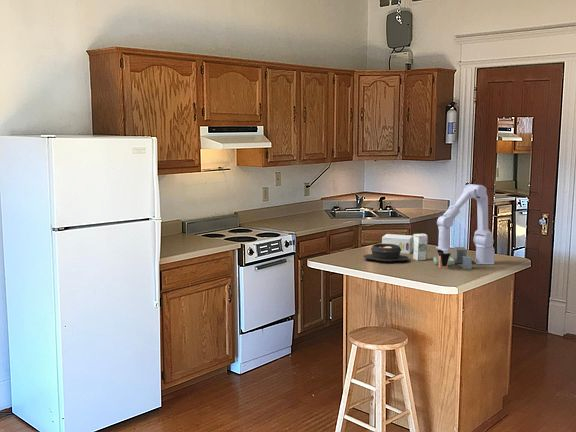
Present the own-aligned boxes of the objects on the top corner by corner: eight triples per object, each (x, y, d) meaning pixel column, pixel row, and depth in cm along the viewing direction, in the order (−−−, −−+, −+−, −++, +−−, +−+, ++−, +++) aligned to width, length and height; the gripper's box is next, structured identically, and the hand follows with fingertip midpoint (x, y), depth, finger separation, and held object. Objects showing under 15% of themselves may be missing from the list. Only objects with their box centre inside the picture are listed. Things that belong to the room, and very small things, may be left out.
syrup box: (421, 258, 354) (422, 233, 352) (426, 260, 348) (427, 234, 346) (412, 259, 352) (413, 233, 350) (417, 261, 347) (418, 235, 345)
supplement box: (381, 252, 373) (381, 236, 372) (386, 248, 386) (386, 233, 384) (409, 254, 367) (410, 238, 366) (413, 250, 380) (414, 235, 378)
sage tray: (451, 261, 346) (451, 257, 345) (454, 265, 336) (454, 261, 336) (433, 261, 347) (433, 257, 346) (435, 264, 337) (435, 260, 336)
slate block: (469, 267, 330) (470, 256, 329) (471, 269, 326) (471, 257, 325) (462, 267, 331) (462, 256, 330) (463, 268, 327) (463, 257, 326)
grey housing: (464, 260, 347) (465, 246, 346) (468, 264, 337) (468, 250, 336) (451, 260, 348) (452, 246, 347) (455, 264, 337) (455, 250, 336)
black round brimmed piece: (361, 262, 342) (361, 247, 341) (365, 256, 360) (365, 242, 359) (407, 265, 336) (408, 249, 335) (409, 258, 354) (409, 243, 353)
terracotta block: (446, 267, 331) (446, 255, 331) (447, 268, 327) (448, 257, 327) (438, 266, 332) (439, 255, 331) (439, 268, 328) (440, 257, 327)
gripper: (434, 236, 335) (433, 261, 337) (438, 241, 321) (437, 267, 323) (447, 236, 334) (447, 261, 336) (452, 241, 320) (451, 267, 322)
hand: (443, 264), depth 329 cm, fingers open, 7 cm apart
